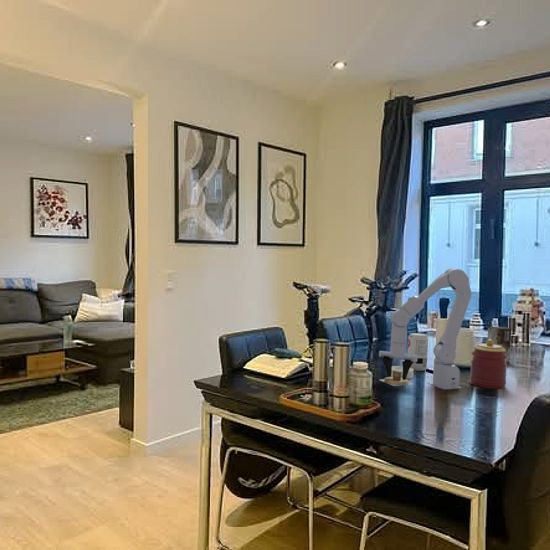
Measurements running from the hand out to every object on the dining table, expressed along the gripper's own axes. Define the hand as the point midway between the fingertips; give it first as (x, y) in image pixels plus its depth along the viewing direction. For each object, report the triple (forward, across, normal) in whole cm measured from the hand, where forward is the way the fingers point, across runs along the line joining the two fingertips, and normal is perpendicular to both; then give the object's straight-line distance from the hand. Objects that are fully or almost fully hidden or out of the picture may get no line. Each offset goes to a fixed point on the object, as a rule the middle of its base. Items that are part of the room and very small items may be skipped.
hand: (396, 378), depth 199 cm
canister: (+2, -27, -23) cm, 36 cm away
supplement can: (+2, +3, -30) cm, 31 cm away
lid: (+2, 0, 0) cm, 2 cm away
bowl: (+2, +3, -11) cm, 11 cm away
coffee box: (+2, -19, -79) cm, 81 cm away
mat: (+2, 0, 0) cm, 2 cm away
